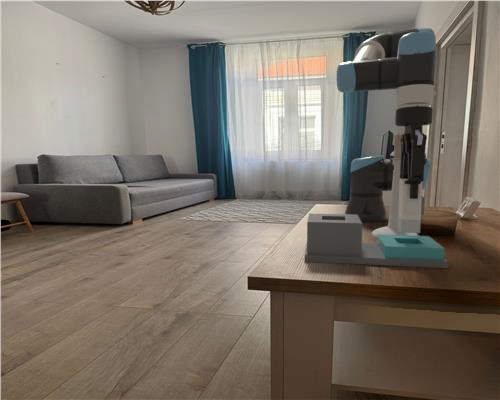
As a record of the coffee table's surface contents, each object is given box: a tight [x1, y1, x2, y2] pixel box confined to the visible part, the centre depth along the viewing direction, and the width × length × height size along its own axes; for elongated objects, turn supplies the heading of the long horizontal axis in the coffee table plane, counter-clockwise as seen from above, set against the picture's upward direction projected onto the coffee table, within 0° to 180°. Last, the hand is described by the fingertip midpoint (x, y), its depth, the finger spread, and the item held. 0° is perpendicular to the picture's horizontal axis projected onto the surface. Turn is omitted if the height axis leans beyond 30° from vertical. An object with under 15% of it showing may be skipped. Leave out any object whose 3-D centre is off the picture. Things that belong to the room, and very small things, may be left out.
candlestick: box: [371, 133, 419, 239], centre depth 105 cm, size 13×13×30 cm
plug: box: [398, 179, 426, 234], centre depth 83 cm, size 5×4×12 cm
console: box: [304, 213, 449, 269], centre depth 86 cm, size 30×14×9 cm, turn 79°
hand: (409, 211), depth 83 cm, fingers closed on plug, 4 cm apart
